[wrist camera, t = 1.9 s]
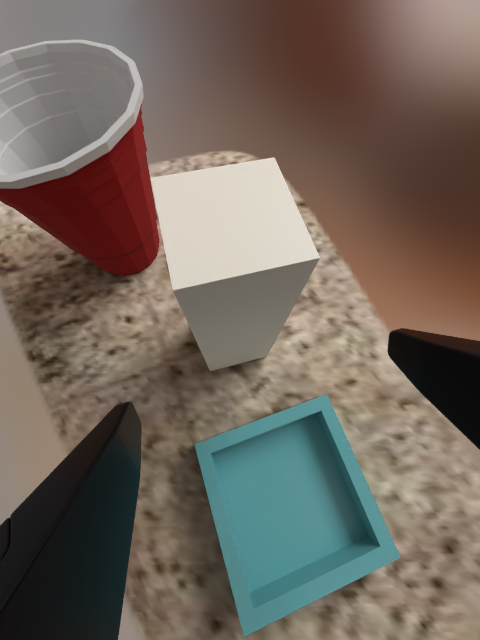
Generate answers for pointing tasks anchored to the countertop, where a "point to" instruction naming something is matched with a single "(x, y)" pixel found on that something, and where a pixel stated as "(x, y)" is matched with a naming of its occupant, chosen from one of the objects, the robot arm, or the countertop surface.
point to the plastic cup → (78, 150)
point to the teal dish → (291, 511)
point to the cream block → (234, 255)
